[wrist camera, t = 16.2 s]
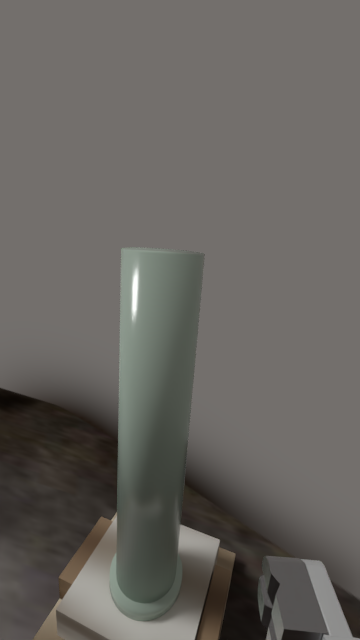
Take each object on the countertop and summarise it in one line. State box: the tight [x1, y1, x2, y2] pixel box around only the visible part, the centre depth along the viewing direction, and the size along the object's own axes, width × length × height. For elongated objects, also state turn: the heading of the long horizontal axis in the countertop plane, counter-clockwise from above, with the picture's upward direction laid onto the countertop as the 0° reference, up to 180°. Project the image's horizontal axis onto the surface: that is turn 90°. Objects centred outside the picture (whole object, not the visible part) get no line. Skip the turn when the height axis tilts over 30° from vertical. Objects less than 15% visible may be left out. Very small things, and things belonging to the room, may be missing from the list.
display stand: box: [33, 513, 235, 640], centre depth 26 cm, size 13×13×4 cm
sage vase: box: [109, 248, 205, 621], centre depth 21 cm, size 6×6×26 cm
